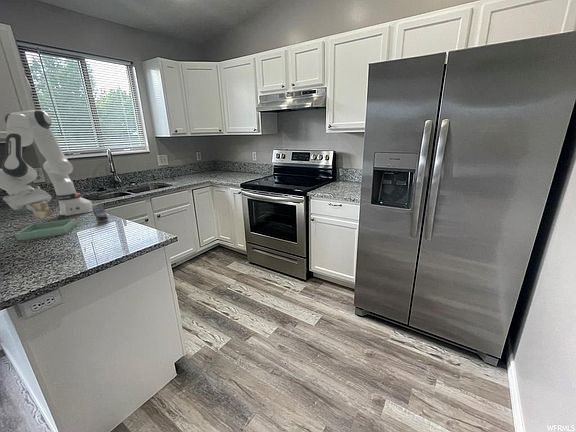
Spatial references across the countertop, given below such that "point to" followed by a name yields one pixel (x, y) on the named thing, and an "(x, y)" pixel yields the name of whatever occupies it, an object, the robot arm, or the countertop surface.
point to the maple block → (41, 209)
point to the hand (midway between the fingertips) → (41, 209)
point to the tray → (46, 229)
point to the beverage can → (99, 212)
